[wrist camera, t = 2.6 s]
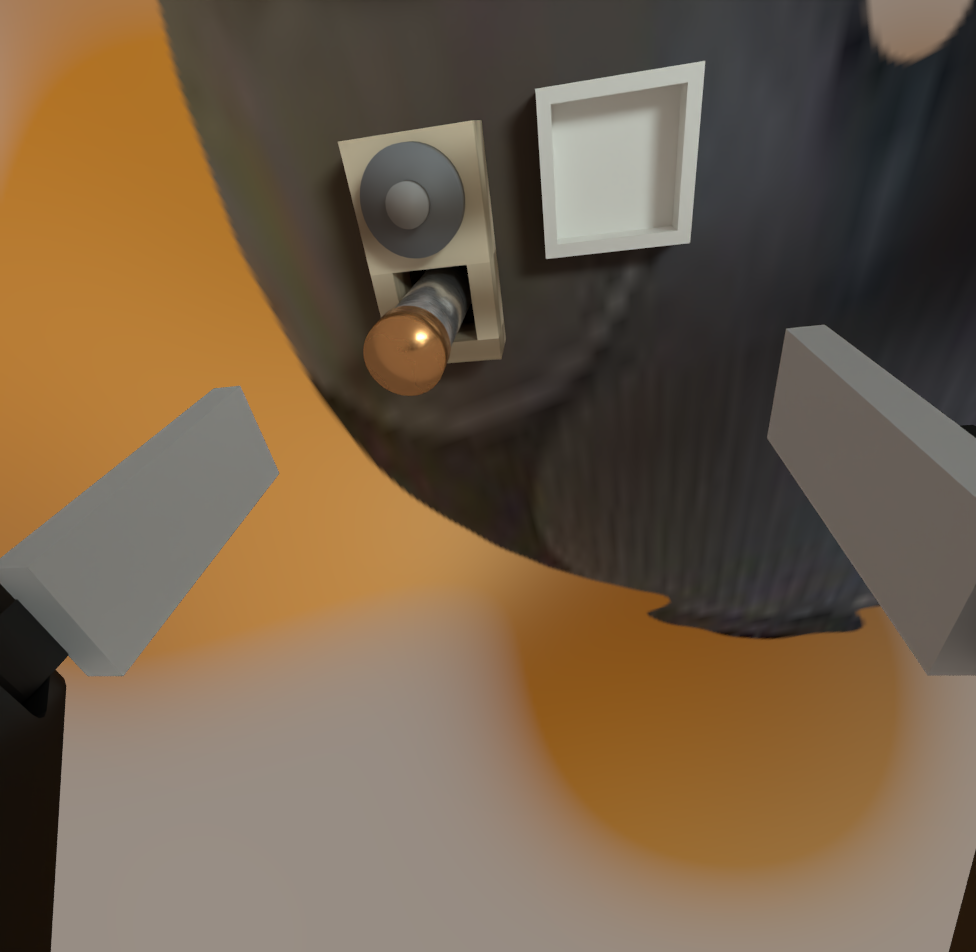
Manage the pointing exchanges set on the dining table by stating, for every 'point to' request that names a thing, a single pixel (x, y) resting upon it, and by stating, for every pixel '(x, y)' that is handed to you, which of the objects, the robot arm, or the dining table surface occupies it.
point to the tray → (619, 160)
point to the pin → (419, 333)
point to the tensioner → (429, 221)
